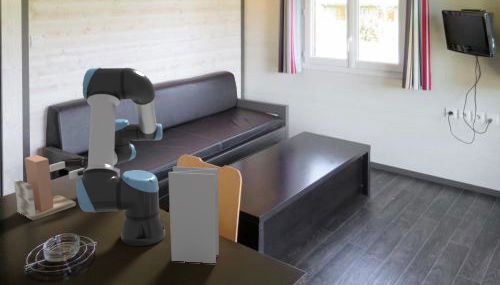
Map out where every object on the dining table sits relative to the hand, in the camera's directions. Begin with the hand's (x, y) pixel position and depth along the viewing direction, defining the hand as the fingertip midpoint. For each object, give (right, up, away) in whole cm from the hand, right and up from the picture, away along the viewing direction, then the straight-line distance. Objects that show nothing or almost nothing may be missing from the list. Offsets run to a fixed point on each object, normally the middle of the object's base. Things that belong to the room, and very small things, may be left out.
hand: (59, 172), depth 189 cm
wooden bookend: (-4, -14, -2) cm, 15 cm away
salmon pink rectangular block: (-5, -13, -4) cm, 15 cm away
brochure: (+59, -26, -37) cm, 74 cm away
